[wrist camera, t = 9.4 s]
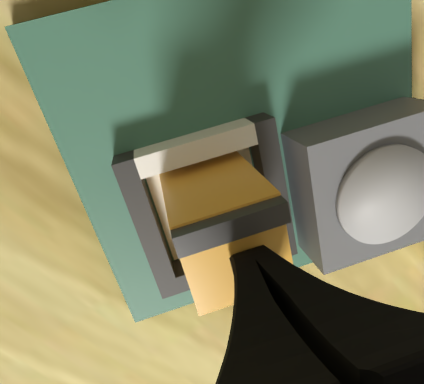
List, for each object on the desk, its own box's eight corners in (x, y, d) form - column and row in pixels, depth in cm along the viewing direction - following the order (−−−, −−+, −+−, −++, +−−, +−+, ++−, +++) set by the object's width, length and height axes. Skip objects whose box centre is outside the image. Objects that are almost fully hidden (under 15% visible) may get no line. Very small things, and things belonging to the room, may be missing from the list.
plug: (235, 149, 17) (287, 198, 11) (250, 217, 19) (303, 292, 13) (158, 172, 17) (170, 236, 11) (180, 240, 19) (201, 327, 13)
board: (395, -67, 16) (480, -108, 12) (401, 221, 23) (458, 257, 19) (12, 28, 15) (-35, 17, 11) (135, 310, 21) (134, 371, 17)
